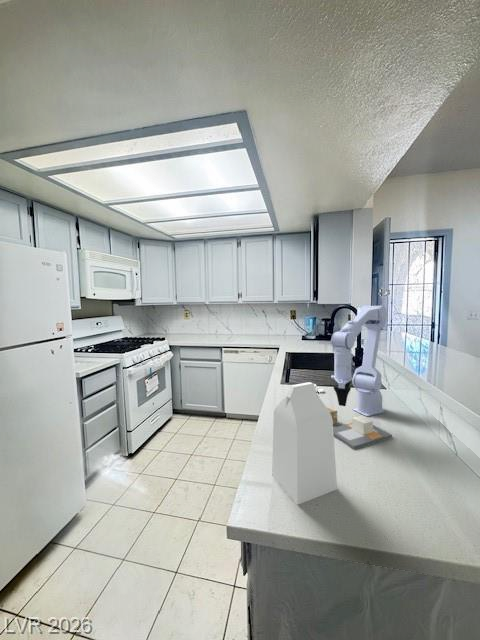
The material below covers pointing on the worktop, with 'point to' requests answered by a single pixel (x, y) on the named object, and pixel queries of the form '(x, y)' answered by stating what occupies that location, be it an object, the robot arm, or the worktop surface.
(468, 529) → the worktop surface
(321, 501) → the worktop surface
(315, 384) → the teacup and saucer
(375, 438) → the breaker panel
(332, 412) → the block
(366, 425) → the cream white cube
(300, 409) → the milk
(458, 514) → the worktop surface
